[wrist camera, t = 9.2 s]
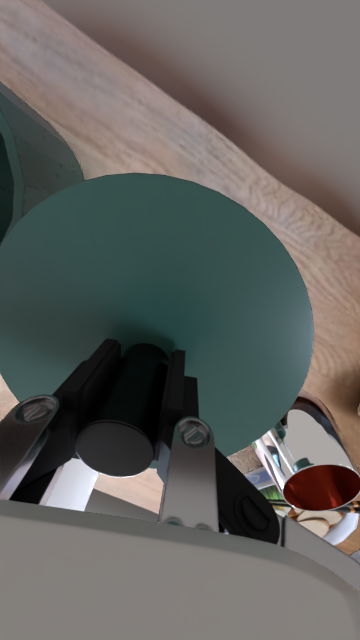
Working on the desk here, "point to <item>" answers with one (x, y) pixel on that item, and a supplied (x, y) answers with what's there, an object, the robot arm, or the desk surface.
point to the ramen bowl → (324, 523)
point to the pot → (29, 160)
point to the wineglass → (309, 457)
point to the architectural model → (356, 555)
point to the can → (73, 486)
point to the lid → (154, 311)
